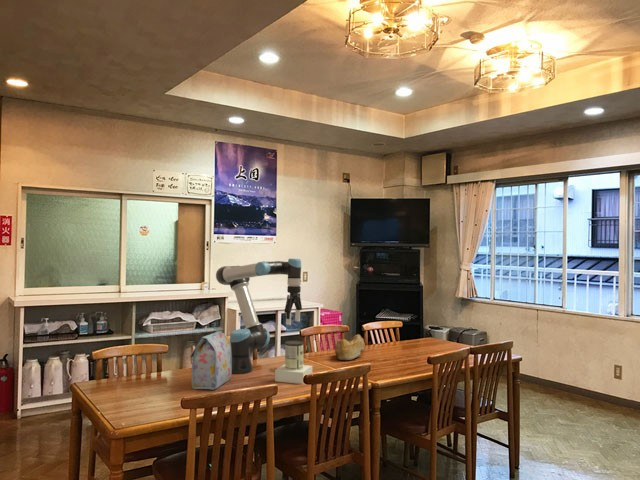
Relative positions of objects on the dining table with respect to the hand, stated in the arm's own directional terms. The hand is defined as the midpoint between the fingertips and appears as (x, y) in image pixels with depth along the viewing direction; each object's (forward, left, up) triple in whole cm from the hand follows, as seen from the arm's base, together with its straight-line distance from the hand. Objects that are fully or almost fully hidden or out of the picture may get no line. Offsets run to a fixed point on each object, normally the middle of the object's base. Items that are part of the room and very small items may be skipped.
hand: (293, 323), depth 275 cm
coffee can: (+4, -8, -24) cm, 25 cm away
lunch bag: (-33, -33, -30) cm, 55 cm away
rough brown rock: (+19, +54, -30) cm, 64 cm away
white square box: (+4, -8, -29) cm, 31 cm away
